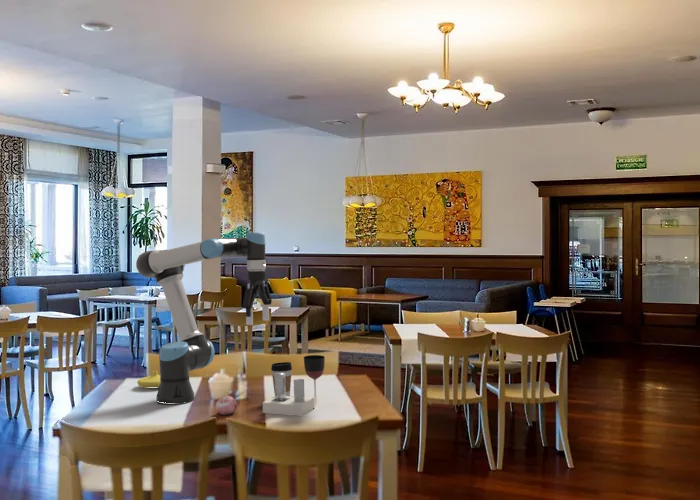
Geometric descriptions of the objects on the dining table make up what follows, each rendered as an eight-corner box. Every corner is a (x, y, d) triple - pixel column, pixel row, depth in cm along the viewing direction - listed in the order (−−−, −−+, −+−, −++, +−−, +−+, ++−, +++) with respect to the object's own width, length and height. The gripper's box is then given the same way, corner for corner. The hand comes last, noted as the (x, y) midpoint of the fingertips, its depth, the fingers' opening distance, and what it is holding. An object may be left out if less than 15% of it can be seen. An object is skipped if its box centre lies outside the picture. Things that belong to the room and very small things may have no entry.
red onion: (221, 419, 261) (214, 402, 261) (217, 417, 268) (210, 399, 268) (241, 410, 264) (234, 392, 264) (236, 407, 271) (229, 390, 271)
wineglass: (310, 412, 267) (309, 359, 267) (301, 407, 275) (300, 356, 274) (329, 409, 271) (328, 357, 270) (320, 404, 278) (318, 354, 278)
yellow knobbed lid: (158, 382, 328) (157, 366, 328) (180, 385, 319) (180, 370, 319) (129, 388, 315) (129, 372, 315) (152, 392, 306) (152, 376, 306)
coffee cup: (289, 402, 282) (288, 365, 281) (269, 401, 283) (268, 364, 283) (295, 397, 290) (294, 361, 289) (275, 397, 291) (274, 361, 291)
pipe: (273, 410, 269) (272, 374, 268) (278, 408, 272) (277, 372, 272) (283, 411, 267) (282, 375, 267) (287, 409, 271) (286, 373, 271)
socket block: (262, 413, 266) (262, 381, 266) (277, 405, 277) (276, 375, 277) (301, 416, 260) (300, 383, 260) (314, 408, 271) (313, 377, 271)
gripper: (249, 272, 272) (250, 326, 273) (278, 268, 295) (280, 318, 296) (232, 272, 275) (234, 326, 276) (263, 268, 298) (264, 318, 299)
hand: (258, 322), depth 286 cm, fingers open, 13 cm apart
